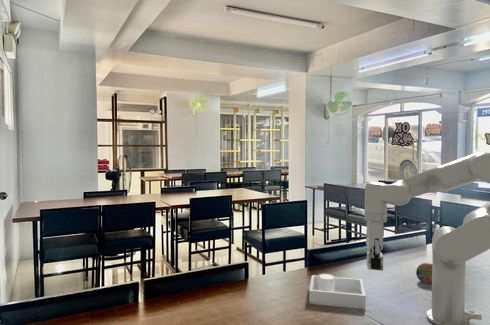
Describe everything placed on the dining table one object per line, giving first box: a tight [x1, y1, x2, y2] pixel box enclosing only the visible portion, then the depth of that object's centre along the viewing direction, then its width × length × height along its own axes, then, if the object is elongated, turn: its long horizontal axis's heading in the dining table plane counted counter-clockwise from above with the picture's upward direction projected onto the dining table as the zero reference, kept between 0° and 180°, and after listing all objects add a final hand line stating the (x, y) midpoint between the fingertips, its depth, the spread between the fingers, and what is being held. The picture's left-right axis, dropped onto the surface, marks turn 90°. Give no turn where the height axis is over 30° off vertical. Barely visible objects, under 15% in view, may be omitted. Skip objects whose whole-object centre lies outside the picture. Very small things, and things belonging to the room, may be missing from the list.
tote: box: [308, 274, 367, 310], centre depth 135 cm, size 20×16×5 cm
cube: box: [366, 251, 384, 272], centre depth 125 cm, size 5×5×5 cm
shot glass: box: [317, 273, 337, 292], centre depth 136 cm, size 7×7×7 cm
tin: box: [415, 262, 432, 285], centre depth 147 cm, size 15×3×8 cm, turn 62°
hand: (374, 265), depth 125 cm, fingers closed on cube, 5 cm apart
